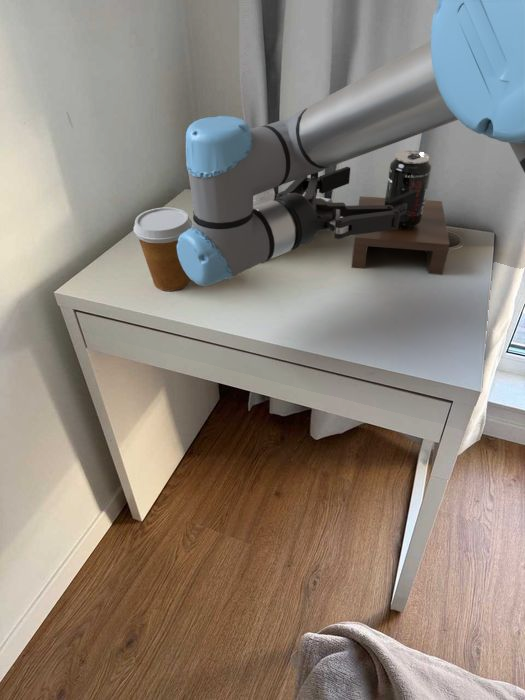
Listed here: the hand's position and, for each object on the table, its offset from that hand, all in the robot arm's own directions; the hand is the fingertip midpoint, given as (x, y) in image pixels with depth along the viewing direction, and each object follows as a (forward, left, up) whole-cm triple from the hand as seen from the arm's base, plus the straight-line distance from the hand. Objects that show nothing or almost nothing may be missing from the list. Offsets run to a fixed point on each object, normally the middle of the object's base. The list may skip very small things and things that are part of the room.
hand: (379, 186), depth 80 cm
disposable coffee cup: (-10, +34, -15) cm, 39 cm away
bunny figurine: (+16, +12, -15) cm, 25 cm away
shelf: (+9, -5, -15) cm, 18 cm away
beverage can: (+7, -5, -9) cm, 13 cm away
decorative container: (+4, +23, -15) cm, 28 cm away
